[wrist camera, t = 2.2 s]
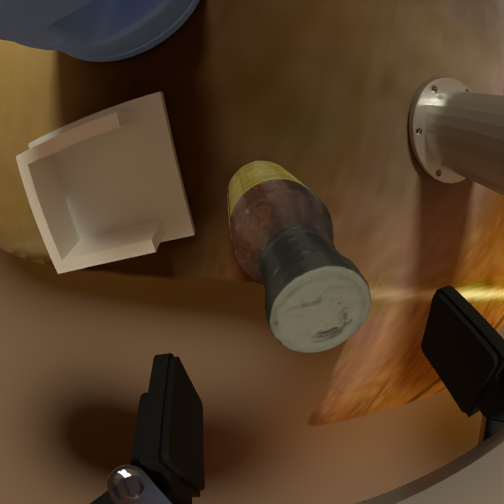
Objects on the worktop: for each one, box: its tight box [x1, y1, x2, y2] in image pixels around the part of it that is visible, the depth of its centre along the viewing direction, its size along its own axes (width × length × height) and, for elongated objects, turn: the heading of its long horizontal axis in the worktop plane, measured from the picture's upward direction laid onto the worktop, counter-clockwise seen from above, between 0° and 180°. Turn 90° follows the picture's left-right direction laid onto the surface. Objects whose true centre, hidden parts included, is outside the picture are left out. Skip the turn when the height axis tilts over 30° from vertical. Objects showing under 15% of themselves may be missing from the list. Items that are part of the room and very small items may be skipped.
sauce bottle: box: [227, 161, 371, 353], centre depth 20 cm, size 7×6×20 cm
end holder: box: [16, 92, 195, 274], centre depth 24 cm, size 15×14×6 cm
